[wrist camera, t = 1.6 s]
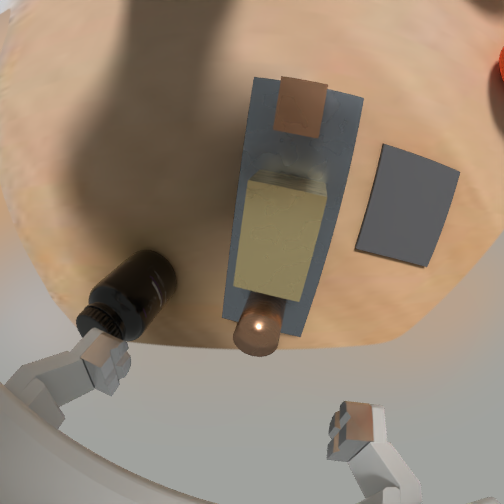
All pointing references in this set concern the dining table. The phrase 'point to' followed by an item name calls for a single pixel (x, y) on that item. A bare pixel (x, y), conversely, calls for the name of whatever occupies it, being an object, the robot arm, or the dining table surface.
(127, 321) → the supplement bottle
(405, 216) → the mat
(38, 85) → the dining table surface
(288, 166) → the body
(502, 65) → the clementine
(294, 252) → the lever cap
